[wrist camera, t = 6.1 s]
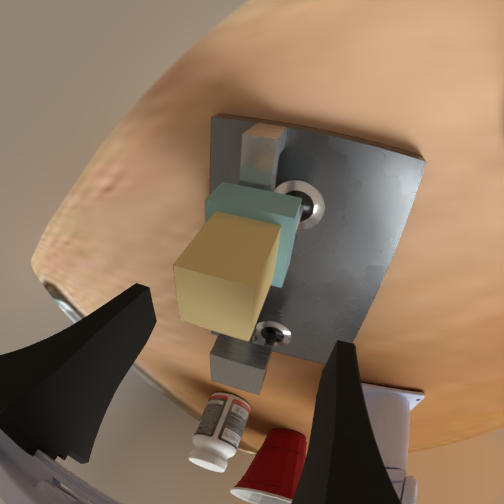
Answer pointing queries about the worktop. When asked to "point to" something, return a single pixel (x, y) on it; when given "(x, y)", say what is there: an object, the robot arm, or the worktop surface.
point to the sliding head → (236, 258)
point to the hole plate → (326, 228)
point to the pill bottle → (219, 431)
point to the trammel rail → (249, 352)
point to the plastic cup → (274, 469)
